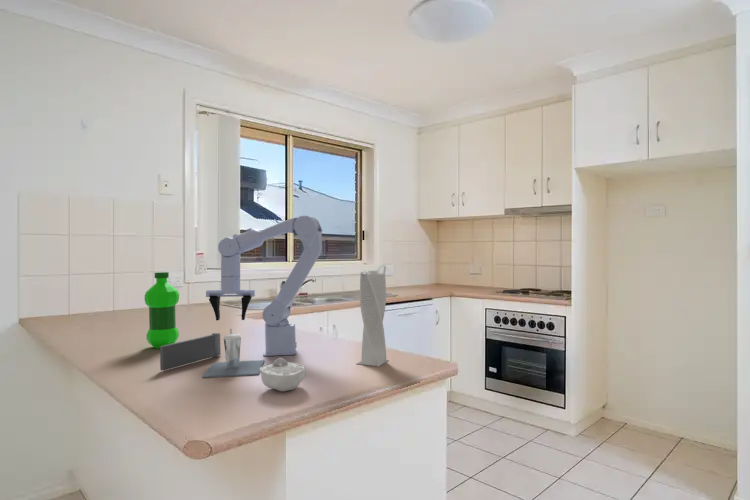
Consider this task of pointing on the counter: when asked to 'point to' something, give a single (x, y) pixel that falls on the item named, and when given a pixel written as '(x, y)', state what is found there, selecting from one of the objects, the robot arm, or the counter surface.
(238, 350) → the milkshake
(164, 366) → the grey rectangular panel
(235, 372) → the mat
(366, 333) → the skyscraper
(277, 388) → the cell model
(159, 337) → the plastic bottle
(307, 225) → the robot arm
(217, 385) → the counter surface
